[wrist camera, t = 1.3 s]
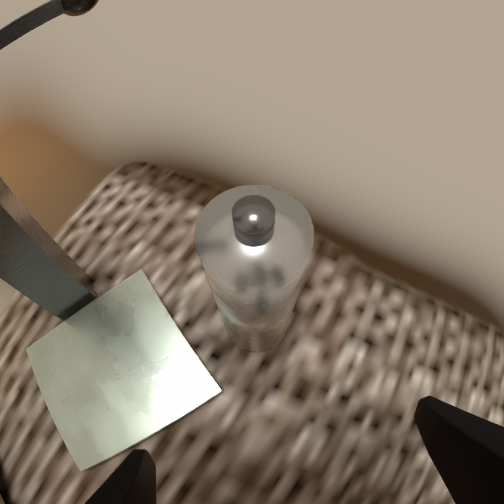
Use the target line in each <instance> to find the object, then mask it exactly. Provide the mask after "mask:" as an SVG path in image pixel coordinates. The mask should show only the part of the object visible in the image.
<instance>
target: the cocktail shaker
mask: <svg viewBox="0 0 504 504" xmlns="http://www.w3.org/2000/svg"><path fill="white" fill-rule="evenodd" d="M194 237H195V245H196V249H197V252H198V255H199V257H200V260H201V263H202V266H203V269H204V271H205V274H206V277H207V280H208V282H209V285H210V288H211V290H212V293H213V296H214V298H215V301H216V304H217V306H218V309H219V312H220V314H221V317H222V320H223V322H224V325H225V327H226V330H227V332H228V335H229V337H230V338H231V340H232V341H233V342H234V343H235V344H236V345H237V346H238V347H240V348H242V349H244V350H246V351H250V352H263V351H267V350H269V349H271V348H273V347H275V346H276V345H277V344H278V343H279V342H280V341H281V340H282V338H283V337H284V335H285V332H286V330H287V327H288V324H289V321H290V318H291V314H292V311H293V308H294V305H295V302H296V299H297V296H298V293H299V289H300V286H301V283H302V280H303V276H304V273H305V270H306V266H307V263H308V260H309V256H310V253H311V250H312V246H313V241H314V229H313V224H312V221H311V218H310V216H309V214H308V212H307V211H306V209H305V208H304V207H303V205H302V204H301V203H300V202H299V201H298V200H297V199H296V198H294V197H293V196H291V195H290V194H288V193H286V192H284V191H282V190H280V189H277V188H274V187H269V186H263V185H246V186H240V187H236V188H233V189H230V190H227V191H225V192H223V193H221V194H220V195H218V196H216V197H215V198H214V199H212V200H211V201H210V202H209V203H208V204H207V205H206V206H205V208H204V209H203V210H202V212H201V214H200V215H199V218H198V220H197V223H196V226H195V233H194Z"/></svg>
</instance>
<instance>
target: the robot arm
mask: <svg viewBox="0 0 504 504" xmlns="http://www.w3.org/2000/svg"><path fill="white" fill-rule="evenodd" d="M414 420H415V423H416V425H417V427H418V430H419V432H420V434H421V437H422V439H423V442H424V444H425V447H426V449H427V451H428V454H429V455H430V457H431V459H432V461H433V463H434V465H435V466H436V468H437V470H438V472H439V474H440V475H441V477H442V479H443V481H444V483H445V485H446V487H447V488H448V490H449V492H450V494H451V496H452V498H453V500H454V502H455V504H504V427H503V426H500V425H498V424H495V423H493V422H490V421H488V420H485V419H483V418H480V417H478V416H476V415H473V414H471V413H468V412H466V411H464V410H461V409H459V408H457V407H455V406H452V405H450V404H448V403H445V402H443V401H441V400H439V399H436V398H434V397H432V396H426V397H424V398H422V399H420V400H419V401H418V404H417V407H416V411H415V414H414ZM85 504H156V466H155V463H154V461H153V459H152V458H151V456H150V454H149V453H148V451H147V450H146V449H134V450H133V451H132V452H131V453H130V454H129V455H128V456H127V457H126V458H125V460H124V461H123V462H122V463H121V464H120V465H119V466H118V467H117V469H116V470H115V471H114V472H113V473H112V474H111V475H110V476H109V477H108V478H107V480H106V481H105V482H104V483H103V484H102V485H101V486H100V487H99V488H98V489H97V491H96V492H95V493H94V494H93V495H92V496H91V497H90V498H89V499H88V500H87V501H86V502H85Z"/></svg>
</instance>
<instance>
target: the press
mask: <svg viewBox="0 0 504 504" xmlns="http://www.w3.org/2000/svg"><path fill="white" fill-rule="evenodd" d="M98 1H99V0H50V1H48V2H47V3H44V4H42V5H40V6H39V7H37V8H35V9H33V10H31V11H29V12H28V13H26V14H24V15H22V16H21V17H19V18H17V19H16V20H14V21H12V22H11V23H9V24H8V25H6V26H4V27H3V28H1V29H0V50H1V49H2V48H4V47H5V46H7V45H8V44H10V43H11V42H13V41H15V40H16V39H18V38H19V37H21V36H23V35H24V34H26V33H28V32H29V31H31V30H33V29H35V28H36V27H38V26H40V25H42V24H44V23H45V22H47V21H49V20H51V19H53V18H55V17H57V16H59V15H61V14H63V13H64V14H66V15H69V16H78V15H82V14H85V13H86V12H88V11H90V10H91V9H92V8H93V7H94V6H95V5H96V4H97V2H98ZM0 278H1V279H3V280H4V281H5V282H7V283H8V284H10V285H11V286H13V287H14V288H15V289H16V290H18V291H19V292H21V293H22V294H24V295H25V296H26V297H28V298H29V299H31V300H32V301H34V302H35V303H37V304H38V305H40V306H41V307H43V308H44V309H46V310H48V311H49V312H51V313H52V314H54V315H55V316H57V317H59V318H60V319H62V320H64V322H62V323H61V324H60V325H58V326H57V327H55V328H54V329H53V330H51V331H50V332H48V333H47V334H46V335H44V336H43V337H42V338H40V339H39V340H37V341H36V342H35V343H33V344H32V345H31V346H29V347H28V348H27V349H26V351H27V354H28V357H29V360H30V363H31V366H32V369H33V372H34V374H35V377H36V380H37V382H38V385H39V388H40V390H41V393H42V395H43V397H44V400H45V402H46V405H47V407H48V409H49V411H50V414H51V416H52V418H53V420H54V422H55V424H56V427H57V429H58V431H59V433H60V435H61V437H62V439H63V441H64V442H65V444H66V446H67V448H68V450H69V452H70V454H71V455H72V457H73V459H74V461H75V463H76V464H77V466H78V468H79V469H80V471H85V470H89V469H91V468H93V467H95V466H97V465H99V464H101V463H103V462H105V461H107V460H109V459H111V458H113V457H115V456H116V455H118V454H120V453H122V452H124V451H126V450H128V449H130V448H131V447H133V446H135V445H137V444H139V443H141V442H142V441H144V440H146V439H148V438H149V437H151V436H153V435H155V434H156V433H158V432H160V431H161V430H163V429H165V428H167V427H168V426H170V425H172V424H173V423H175V422H176V421H178V420H180V419H181V418H183V417H185V416H186V415H188V414H189V413H191V412H193V411H194V410H196V409H197V408H199V407H200V406H202V405H204V404H205V403H207V402H208V401H210V400H211V399H213V398H214V397H216V396H217V395H219V394H220V393H222V392H223V390H222V389H221V388H220V386H219V385H218V384H217V382H216V381H215V379H214V378H213V377H212V375H211V374H210V373H209V371H208V370H207V368H206V367H205V366H204V364H203V363H202V361H201V360H200V358H199V357H198V356H197V354H196V353H195V351H194V350H193V348H192V347H191V345H190V344H189V342H188V341H187V339H186V338H185V336H184V335H183V333H182V332H181V330H180V329H179V327H178V326H177V324H176V323H175V321H174V320H173V318H172V316H171V315H170V313H169V312H168V310H167V309H166V307H165V305H164V304H163V302H162V300H161V299H160V297H159V296H158V294H157V292H156V291H155V289H154V287H153V286H152V284H151V282H150V281H149V279H148V277H147V276H146V274H145V273H144V271H143V270H142V269H140V270H139V271H137V272H136V273H134V274H133V275H131V276H130V277H128V278H127V279H125V280H124V281H122V282H121V283H119V284H118V285H116V286H115V287H113V288H112V289H110V290H109V291H107V292H106V293H104V294H103V295H101V296H100V297H98V296H97V294H96V292H95V290H94V287H93V285H92V283H91V280H90V278H89V276H88V275H87V274H86V273H85V272H84V271H83V270H82V269H81V268H80V267H79V266H78V265H77V264H76V263H75V262H74V261H73V260H72V259H71V258H70V257H69V256H68V255H67V254H66V253H65V252H64V251H63V249H62V248H61V247H60V246H59V245H58V244H57V243H56V242H55V241H54V240H53V239H52V238H51V237H50V236H49V235H48V233H47V232H46V231H45V230H44V229H43V228H42V227H41V226H40V225H39V223H38V222H37V221H36V220H35V219H34V218H33V217H32V215H31V214H30V213H29V212H28V211H27V209H26V208H25V207H24V206H23V205H22V204H21V202H20V201H19V200H18V199H17V197H16V196H15V195H14V194H13V192H12V191H11V190H10V189H9V187H8V186H7V185H6V184H5V182H4V181H3V180H2V178H1V177H0Z"/></svg>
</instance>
